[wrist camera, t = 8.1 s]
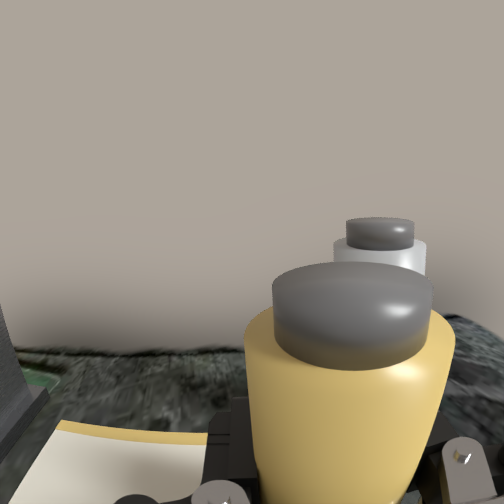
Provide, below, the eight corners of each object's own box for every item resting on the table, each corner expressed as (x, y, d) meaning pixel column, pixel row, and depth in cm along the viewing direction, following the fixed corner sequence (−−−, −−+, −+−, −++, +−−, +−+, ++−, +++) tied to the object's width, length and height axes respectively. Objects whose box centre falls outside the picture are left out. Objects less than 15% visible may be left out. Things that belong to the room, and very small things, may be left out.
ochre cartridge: (266, 596, 6) (237, 347, 4) (262, 518, 11) (241, 261, 8) (379, 577, 7) (509, 307, 4) (357, 505, 11) (402, 251, 8)
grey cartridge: (334, 457, 14) (349, 231, 12) (320, 409, 19) (323, 218, 16) (408, 441, 14) (445, 226, 12) (384, 398, 19) (400, 214, 16)
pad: (1, 533, 7) (-6, 526, 7) (64, 426, 16) (61, 419, 16) (193, 591, 7) (190, 587, 7) (210, 440, 16) (209, 433, 16)
